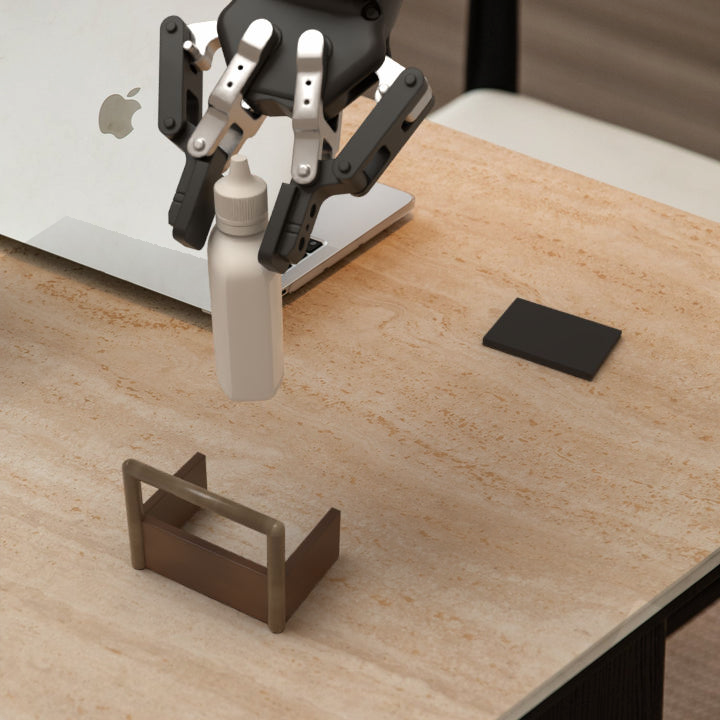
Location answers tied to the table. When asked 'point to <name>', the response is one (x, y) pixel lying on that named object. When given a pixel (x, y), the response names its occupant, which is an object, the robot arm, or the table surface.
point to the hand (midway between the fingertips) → (229, 254)
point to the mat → (553, 338)
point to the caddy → (213, 563)
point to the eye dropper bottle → (244, 290)
